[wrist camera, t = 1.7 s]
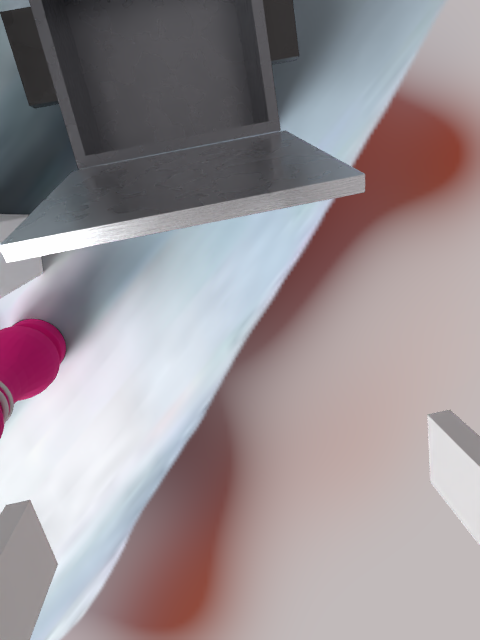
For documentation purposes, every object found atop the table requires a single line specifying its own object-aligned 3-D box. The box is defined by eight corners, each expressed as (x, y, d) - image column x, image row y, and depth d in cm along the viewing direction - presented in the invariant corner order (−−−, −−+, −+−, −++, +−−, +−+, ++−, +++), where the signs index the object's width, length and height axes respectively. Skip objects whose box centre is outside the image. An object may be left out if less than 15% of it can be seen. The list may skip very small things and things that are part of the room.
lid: (-2, 245, 18) (26, 301, 19) (365, 174, 19) (364, 233, 20) (72, 170, 31) (86, 207, 33) (285, 130, 32) (288, 167, 33)
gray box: (21, -20, 35) (-35, -85, 27) (260, -62, 36) (280, -138, 27) (78, 176, 40) (47, 174, 32) (286, 136, 41) (310, 124, 33)
